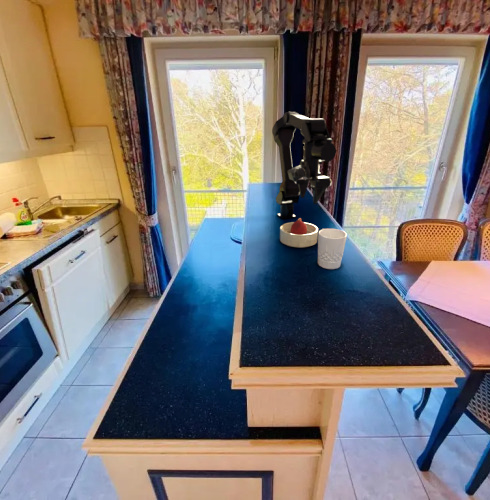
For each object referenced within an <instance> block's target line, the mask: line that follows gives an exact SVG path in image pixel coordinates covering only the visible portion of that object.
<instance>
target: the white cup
mask: <svg viewBox="0 0 490 500" xmlns="http://www.w3.org/2000/svg"><path fill="white" fill-rule="evenodd" d="M347 236H348V234H347V232H345V231H344V230H342V229H338V228H322V229H320V230H318V237H317V265H318V266H319V267H321V268H323V269H327V270H335V269H336V270H337V269H339V268H340V267H341V265H342V259H343V258H344V257H343V256H344V253H345V247H346V242H347Z"/></svg>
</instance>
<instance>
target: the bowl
mask: <svg viewBox="0 0 490 500" xmlns="http://www.w3.org/2000/svg"><path fill="white" fill-rule="evenodd" d="M294 222H295V221H291V222H286V223H283V224H282V225H280V227H279V241H280V242H281V243H282V244H284V245H286V246H287V247H292V248H308V247H311V246H314V245H316V244H318V235H319V228H318V226H317V225H315V224H313V223H309V222H305V221H303V222H304V223H305V224H306V226H307V233H306V234H305V235H298V234H291V231H290V230H291V226H292V224H293V223H294Z"/></svg>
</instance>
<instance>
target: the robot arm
mask: <svg viewBox="0 0 490 500" xmlns="http://www.w3.org/2000/svg"><path fill="white" fill-rule="evenodd" d="M297 129H298V130H300V134H301V135H302V136H303V137H304V139H302V141H301V143H302V144H304V146H303V159H301V160H300V162H299V165H296V166H294V167H293V158H292V151H291V149H292V148H291V143H292V142H293V139H294V133H295V132H296V130H297ZM271 132H272V136H273V141H274V142H275V144H276V145H277V147H278V153H279V161H280V162H279V163H280V171H281V183H280V185H279V188H278V189H279V190H278V191H279V192H278V193H277V195H276V197H275V203H276V204H277V205H279V207H280V212H279V213H277V217H280V218H281V219H282V220H287V219H294V218H297V216H296V215H295V214H294V204H299V200H300V198H301V199H304V198H305V196H306V193H307V189H308V187H310V188H311V190H312V204H313V205H317V204H318V203H319V200H320V199H321V198H322V195H323V194H324V192H326V189H328V188H329V187H331V186H332V179H331V178H330V177H329V176H326V175H322V173H321V172H320V165H322V164H323V162H327V163H328V162H331V161H332V160H334V158H336V157H335V156H336V154H337V149H336V145H335V144H334V143H333V139H332V138H331V134H330V132H329V129H328V126H327V123H326V120H325V119H324V118H311V117H310V118H309V117H307V116H305V115H302V114H299V113H298V112H296V111H288V112H285V113H283V114H282V116H281V117H279V118H278V119H277V120H276V121H275V122H274V124H273V127H272V129H271ZM309 183H310V185H309Z"/></svg>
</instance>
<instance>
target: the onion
mask: <svg viewBox="0 0 490 500" xmlns="http://www.w3.org/2000/svg"><path fill="white" fill-rule="evenodd" d="M293 222H294V223H293V224H292V226H291V230H290V231H291V234H298V235H305V234H306V233H307V226H306V224H305V223H306V222H305V221H302V218H301V217H299V218H297V220H296V221H293ZM304 222H305V223H304Z"/></svg>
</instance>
